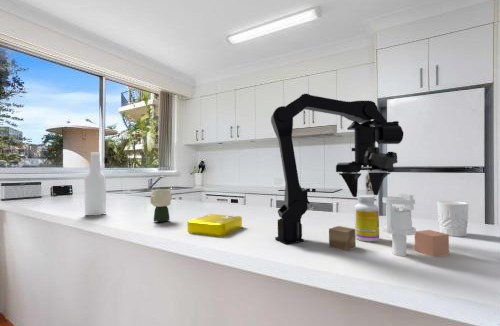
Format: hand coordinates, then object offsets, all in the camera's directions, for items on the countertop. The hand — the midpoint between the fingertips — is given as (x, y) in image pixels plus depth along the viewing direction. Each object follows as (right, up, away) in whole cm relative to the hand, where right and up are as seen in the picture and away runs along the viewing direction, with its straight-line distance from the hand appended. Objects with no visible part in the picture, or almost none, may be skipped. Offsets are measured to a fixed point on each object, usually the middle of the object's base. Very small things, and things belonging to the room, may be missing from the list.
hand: (365, 196), depth 79 cm
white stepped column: (+2, -13, -14) cm, 19 cm away
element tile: (-47, -14, +14) cm, 51 cm away
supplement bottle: (0, -13, 0) cm, 13 cm away
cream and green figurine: (-71, -14, +29) cm, 78 cm away
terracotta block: (+11, -13, -13) cm, 21 cm away
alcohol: (-110, -15, +48) cm, 120 cm away
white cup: (+29, -13, +4) cm, 32 cm away
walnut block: (-10, -13, -8) cm, 18 cm away
